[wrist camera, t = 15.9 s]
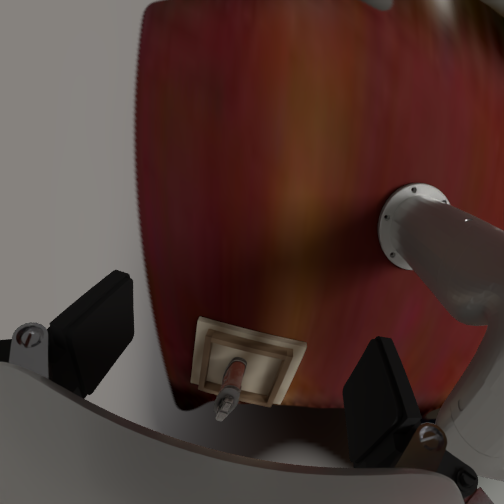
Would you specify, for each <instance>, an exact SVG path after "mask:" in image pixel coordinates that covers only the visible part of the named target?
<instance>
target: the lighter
mask: <svg viewBox="0 0 504 504" xmlns="http://www.w3.org/2000/svg"><path fill="white" fill-rule="evenodd" d="M246 366H247V361H246V360H245V359H243V358H241V357H234V358H233V359H232V360H231V361H230V363H229V364H228V366H227V367H226V369H225V372H224V375H223V379H222V385H221V388H220V391H219V394H218V395H217V398H216V400H215V404H214V411H215V412H216V413H217V415H216V420H218V421H223V419H224V418H226V417H227V415H228V414H229V413H230V412H232V410H233V409H234V408H235V407H236V405H237V403H238V401H239V397H240V392H241V388H242V386H241V383H242V379H243V376H244V374H245V371H246Z"/></svg>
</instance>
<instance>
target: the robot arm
mask: <svg viewBox="0 0 504 504" xmlns="http://www.w3.org/2000/svg"><path fill="white" fill-rule="evenodd" d="M412 188H413V190H412V191H411V189H412ZM385 215H387V217H386V218H384V216H385ZM378 238H379V242H380V245H381V248H382V250H383V252H384V253H385V255H386V256H387V257H388V259H389V260H390V261H391V262H392V263H394V264H395V265H396V266H398V267H400V268H403V269H406V270H414V272H415V273H416V274H417V275H418V276H419V277H420V278H421V280H422V281H423V282H424V283H425V284H426V285H427V287H428V288H429V289H430V290H431V291H432V293H433V294H434V295H435V296H436V297H437V299H438V300H439V301H440V302H441V304H442V305H443V306H444V307H445V308H446V310H447V311H448V312H449V313H450V314H451V315H452V316H453V317H454V318H455V319H456V320H458V321H459V322H461V323H464V324H466V325H472V326H482V325H488V327H487V330H486V333H485V335H484V337H483V339H482V341H481V343H480V345H479V347H478V349H477V352H476V354H475V355H474V357H473V359H472V360H471V362H470V364H469V365H468V367H467V368H466V370H465V372H464V373H463V375H462V376H461V378H460V379H459V381H458V382H457V384H456V385H455V387H454V388H453V390H452V391H451V393H450V394H449V396H448V397H447V399H446V400H445V402H444V403H443V405H442V407H441V409H440V411H439V414H438V416H437V419H436V424H433V423H423V424H421V423H420V419H421V418H422V417H421V414H420V411H419V408H418V405H417V402H416V399H415V397H414V394H413V391H412V388H411V386H410V383H409V380H408V378H407V375H406V373H405V370H404V368H403V365H402V363H401V360H400V358H399V355H398V353H397V350H396V348H395V346H394V343H393V341H392V339H390V338H386V337H380V336H378V337H376V338H375V339H372V340H371V341H370V342H369V344H368V346H367V348H366V350H365V352H364V353H363V355H362V357H361V359H360V360H359V362H358V364H357V366H356V367H355V369H354V371H353V372H352V374H351V376H350V377H349V379H348V380H347V382H346V384H345V385H344V388H343V400H344V408H345V416H346V425H347V434H348V445H349V456H350V461H351V462H353V463H354V468H328V467H313V466H301V465H293V464H284V463H276V462H270V461H264V460H258V459H253V458H248V457H243V456H238V455H233V454H229V453H224V452H221V451H217V450H213V449H209V448H205V447H202V446H198V445H195V444H191V443H188V442H185V441H182V440H179V439H175V438H173V437H170V436H167V435H164V434H161V433H159V432H156V431H153V430H151V429H148V428H146V427H143V426H141V425H138V424H136V423H133V422H131V421H129V420H126V419H124V418H122V417H120V416H117V415H115V414H113V413H111V412H109V411H107V410H105V409H103V408H100V407H99V406H97V405H95V404H92V403H91V402H89V401H87V400H85V399H84V398H85V397H86V396H87V394H88V395H90V394H92V393H93V392H94V390H95V389H96V387H97V386H98V385H99V383H100V382H101V381H102V379H103V378H104V376H105V375H106V374H107V373H108V371H109V370H110V368H111V367H112V366H113V364H114V363H115V362H116V360H117V359H118V358H119V356H120V355H121V354H122V352H123V351H124V350H125V349H126V347H127V346H128V345H129V343H130V342H131V341H132V339H133V336H134V313H133V280H132V279H131V278H130V276H129V274H128V273H124V272H121V271H118V270H115V271H113V272H111V273H110V274H109V275H108V276H106V277H105V278H104V279H102V280H101V281H100V282H99V283H98V284H96V285H95V286H94V287H92V288H91V289H90V290H89V291H88V292H86V293H85V294H84V295H83V296H81V297H80V298H79V299H78V300H76V301H75V302H74V303H73V304H72V305H70V306H69V307H68V308H67V309H66V310H65V311H63V312H62V313H61V314H60V315H59V316H57V318H55V319H54V320H53V321H52V322H51V323H50V327H49V328H48V329H46V328H45V327H44V326H43V325H41V324H38V323H26V324H24V325H21V326H20V327H18V328H17V329H16V330H15V332H14V334H13V336H12V339H8V340H0V504H494V503H493V502H492V501H491V500H490V498H489V497H488V496H487V495H486V493H485V492H484V491H483V490H482V488H481V487H479V488H478V489H477V485H478V477H477V476H481V477H485V478H490V479H495V480H500V481H504V231H503V230H501V229H499V228H497V227H495V226H493V225H491V224H489V223H487V222H485V221H483V220H481V219H479V218H477V217H475V216H473V215H471V214H469V213H466V212H464V211H462V210H460V209H458V208H455V207H453V206H451V205H450V203H449V201H448V199H447V198H446V197H445V195H444V194H443V193H442V192H441V191H440V190H439V189H437V188H435V187H433V186H431V185H428V184H424V183H411V184H408V185H405V186H403V187H401V188H399V189H398V190H396V191H395V192H394V193H393V194H392V195H391V196H390V197H389V198H388V200H387V201H386V203H385V204H384V206H383V208H382V211H381V213H380V216H379V222H378ZM391 253H392V254H391Z"/></svg>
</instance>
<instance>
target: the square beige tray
mask: <svg viewBox="0 0 504 504" xmlns="http://www.w3.org/2000/svg"><path fill="white" fill-rule="evenodd" d="M306 348H307V343H306V342H301V341H297V340H292V339H287V338H283V337H278V336H274V335H270V334H266V333H261V332H257V331H253V330H249V329H245V328H241V327H237V326H233V325H230V324H226V323H222V322H219V321H215V320H211V319H208V318H204V317H201V316H200V317H199V319H198V322H197V330H196V338H195V347H194V355H193V365H192V374H191V383H194V384H198V385H199V386H198V390H201V391H205V392H208V393H212V394H215V395H218V394H219V391H220V388H221V385H222V379H223V375H224V372H225V369H226V367H227V366H228V364H229V363H230V361H231V360H232V359H233V358H234V357H241V358H243V359H245V360H246V361H247V366H246V371H245V374H244V376H243V379H242V383H241V386H242V388H241V392H240V397H239V401H243V402H247V403H252V404H257V405H262V406H266V407H271V406H272V404H273V403H275V404H281V402H282V400H283V398H284V396H285V394H286V392H287V390H288V387H289V385H290V383H291V381H292V379H293V377H294V375H295V373H296V370H297V368H298V366H299V364H300V362H301V359H302V357H303V355H304V352H305V350H306Z"/></svg>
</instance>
